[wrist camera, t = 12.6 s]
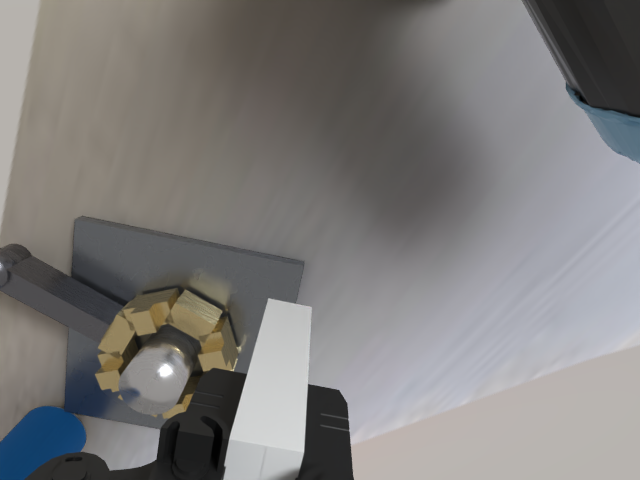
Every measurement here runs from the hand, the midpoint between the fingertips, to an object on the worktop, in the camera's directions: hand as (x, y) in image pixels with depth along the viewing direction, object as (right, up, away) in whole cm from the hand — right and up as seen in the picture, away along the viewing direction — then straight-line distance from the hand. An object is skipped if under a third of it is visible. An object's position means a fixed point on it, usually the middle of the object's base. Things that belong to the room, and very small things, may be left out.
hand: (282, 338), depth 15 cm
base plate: (-12, -6, +27) cm, 31 cm away
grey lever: (-17, -3, +25) cm, 30 cm away
